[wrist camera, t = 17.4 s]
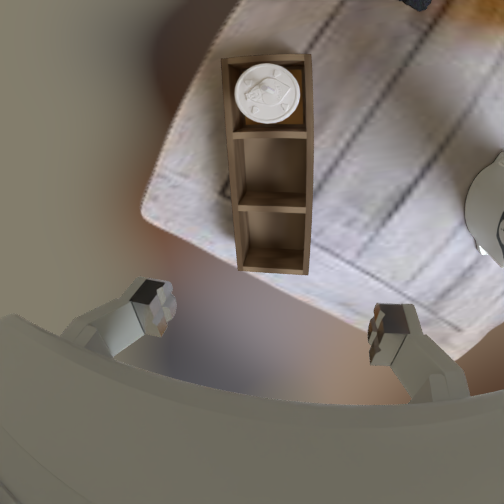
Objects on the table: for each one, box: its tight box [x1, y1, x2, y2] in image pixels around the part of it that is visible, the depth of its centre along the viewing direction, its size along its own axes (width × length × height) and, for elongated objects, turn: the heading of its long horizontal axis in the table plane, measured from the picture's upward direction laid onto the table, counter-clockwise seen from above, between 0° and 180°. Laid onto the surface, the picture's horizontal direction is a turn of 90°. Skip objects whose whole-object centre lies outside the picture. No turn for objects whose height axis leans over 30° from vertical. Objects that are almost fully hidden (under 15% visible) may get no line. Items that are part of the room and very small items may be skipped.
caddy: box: [221, 54, 314, 275], centre depth 34 cm, size 10×29×6 cm, turn 3°
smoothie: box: [235, 63, 300, 124], centre depth 25 cm, size 6×6×14 cm
